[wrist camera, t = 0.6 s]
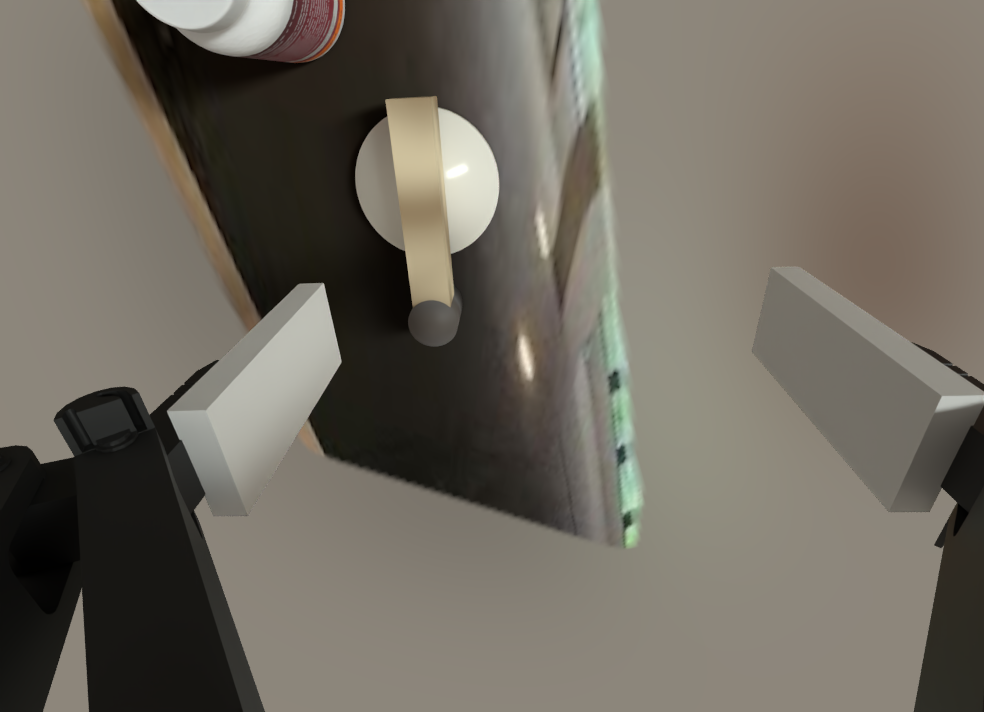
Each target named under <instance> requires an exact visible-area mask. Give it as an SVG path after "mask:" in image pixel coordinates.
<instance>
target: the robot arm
mask: <svg viewBox="0 0 984 712" xmlns="http://www.w3.org/2000/svg"><path fill="white" fill-rule="evenodd" d="M752 352H753V354H754V355H755V356H756V357H757V358H758V360H759V361H760V362H761V363H762V364H763V365H764V367H765V368H766V369H767V370H768V371H769V372H770V374H771V375H772V376H773V377H774V378H775V379H776V381H777V382H778V383H779V384H780V385H781V386H782V388H783V389H784V390H785V391H786V392H787V393H788V395H789V396H790V397H791V398H792V399H793V401H794V402H795V403H796V404H797V405H798V406H799V408H800V409H801V410H802V411H803V412H804V413H805V415H806V416H807V417H808V418H809V419H810V420H811V421H812V423H813V424H814V425H815V426H816V427H817V429H818V430H819V431H820V432H821V433H822V434H823V436H824V437H825V438H826V439H827V440H828V441H829V442H830V444H831V445H832V446H833V447H834V448H835V450H836V451H837V452H838V453H839V454H840V455H841V457H842V458H843V459H844V460H845V461H846V463H847V464H848V465H849V466H850V467H851V468H852V470H853V471H854V472H855V473H856V474H857V475H858V477H859V478H860V479H861V480H862V481H863V482H864V484H865V485H866V486H867V487H868V488H869V489H870V491H871V492H872V493H873V494H874V495H875V496H876V498H877V499H878V500H879V501H880V502H881V503H882V505H883V506H884V507H885V508H886V509H887V511H888V512H930V510H931V508H932V506H933V504H934V502H935V500H936V498H937V496H938V494H939V492H940V490H941V488H943V489H944V490H945V491H946V492H947V493H948V494H949V495H950V496H951V497H952V498H953V499H954V500H955V501H956V502H957V504H956V506H955V508H954V509H953V511H952V513H951V515H950V517H949V519H948V520H947V523H946V524H945V526H944V528H943V530H942V532H941V533H940V535H939V537H938V539H937V541H936V543H935V546H937V547H940V548H942V547H943V546H944V548H943V554H942V560H941V565H940V571H939V576H938V581H937V587H936V592H935V598H934V603H933V609H932V614H931V620H930V625H929V631H928V636H927V642H926V647H925V653H924V659H923V664H922V669H921V675H920V680H919V686H918V691H917V697H916V702H915V708H914V712H984V384H982V383H981V382H980V381H978V380H977V379H975V378H974V377H972V376H968V375H967V373H966V372H964V371H963V370H961V369H960V368H958V367H957V366H952V363H951V362H949V361H948V360H946V359H945V358H943V357H942V356H940V355H939V354H937V353H936V352H934V351H932V350H929V349H927V348H925V347H922V346H920V345H917V344H915V343H912V342H910V341H908V340H907V339H905V338H904V337H902V336H901V335H899V334H898V333H896V332H895V331H893V330H892V329H890V328H889V327H887V326H886V325H885V324H883V323H882V322H880V321H879V320H877V319H876V318H874V317H873V316H871V315H870V314H868V313H867V312H865V311H864V310H862V309H861V308H859V307H858V306H856V305H855V304H853V303H852V302H850V301H849V300H847V299H846V298H845V297H843V296H841V295H840V294H839V293H837V292H835V291H834V290H833V289H831V288H830V287H828V286H827V285H825V284H824V283H822V282H821V281H819V280H818V279H816V278H815V277H813V276H812V275H810V274H809V273H808V272H806V271H804V270H803V269H801V268H800V267H798V266H796V267H771V269H770V274H769V278H768V283H767V287H766V291H765V296H764V300H763V305H762V309H761V314H760V318H759V322H758V326H757V331H756V335H755V340H754V344H753V349H752ZM340 364H341V357H340V353H339V348H338V344H337V340H336V335H335V331H334V326H333V322H332V318H331V313H330V309H329V304H328V300H327V296H326V291H325V287H324V283H309V284H298V285H297V286H296V287H295V288H294V289H293V290H292V291H291V292H290V293H289V294H288V295H287V296H286V297H285V298H284V299H283V300H282V301H281V302H280V303H279V304H278V305H276V306H275V307H274V308H273V309H272V310H271V311H270V312H269V313H268V314H267V315H266V316H265V317H264V318H263V319H262V320H261V321H260V322H259V323H258V324H257V325H256V326H255V327H254V328H253V329H252V330H251V331H249V332H248V333H247V334H246V335H245V336H244V337H243V338H242V339H241V340H240V341H239V342H238V343H237V344H236V345H235V346H234V347H233V348H232V349H231V350H230V351H229V352H228V353H227V354H226V355H225V356H224V357H222V358H221V359H220V360H216V361H214V362H212V363H210V364H209V365H207V366H205V367H203V368H202V369H200V370H198V371H196V372H195V373H194V374H193V375H192V376H191V377H190V378H189V379H188V380H187V381H186V382H185V385H182V386H180V387H179V388H178V389H177V390H176V391H175V392H174V395H171V396H170V397H169V398H168V399H166V400H165V401H164V402H163V403H162V404H161V405H160V406H159V407H158V408H157V409H156V410H154V411H153V412H152V413H151V414H150V415H149V414H148V412H147V409H146V407H145V405H144V403H143V401H142V398H141V396H140V394H139V393H138V392H137V390H135V389H134V388H129V387H115V388H109V389H104V390H100V391H96V392H93V393H91V394H88V395H85V396H83V397H80V398H78V399H76V400H75V401H73V402H71V403H69V404H67V405H66V406H65V407H63V408H62V409H61V410H60V411H59V412H58V413H57V414H56V416H55V418H54V422H55V424H56V425H57V427H58V429H59V430H60V432H61V434H62V436H63V437H64V439H65V441H66V443H67V444H68V446H69V448H70V449H71V451H72V453H73V455H74V456H75V457H73V458H69V459H63V460H59V461H54V462H49V463H44V464H40V462H39V461H38V459H37V458H36V456H35V455H34V453H33V451H32V450H31V449H29V448H28V447H27V446H16V445H15V446H9V447H4V448H0V712H43V709H44V706H45V703H46V700H47V696H48V693H49V690H50V687H51V684H52V680H53V677H54V674H55V671H56V668H57V665H58V661H59V658H60V655H61V652H62V649H63V646H64V643H65V639H66V636H67V633H68V630H69V627H70V623H71V620H72V617H73V614H74V611H75V607H76V604H77V601H78V598H79V594H80V592H81V588H82V596H83V613H84V631H85V649H86V665H87V684H88V701H89V712H265V711H264V708H263V705H262V702H261V699H260V696H259V693H258V691H257V687H256V685H255V682H254V679H253V676H252V673H251V670H250V667H249V664H248V661H247V659H246V656H245V653H244V650H243V647H242V644H241V641H240V638H239V636H238V633H237V630H236V627H235V624H234V621H233V618H232V615H231V612H230V609H229V607H228V604H227V601H226V598H225V595H224V592H223V589H222V586H221V583H220V581H219V578H218V575H217V572H216V569H215V566H214V564H213V560H212V557H211V554H210V552H209V549H208V546H207V543H206V540H205V537H204V534H203V531H202V528H201V526H200V523H199V520H198V518H197V516H196V514H195V512H194V509H195V508H196V506H197V505H198V504H199V502H200V501H201V500H202V498H203V497H204V496H205V498H206V500H207V502H208V505H209V507H210V509H211V512H212V514H213V516H248V515H249V514H250V512H251V510H252V509H253V507H254V505H255V504H256V502H257V500H258V499H259V497H260V495H261V494H262V492H263V490H264V489H265V487H266V486H267V484H268V482H269V480H270V479H271V477H272V476H273V474H274V472H275V470H276V469H277V467H278V466H279V464H280V462H281V461H282V459H283V457H284V456H285V454H286V453H287V451H288V449H289V448H290V446H291V444H292V442H293V441H294V439H295V438H296V436H297V434H298V433H299V431H300V430H301V428H302V426H303V425H304V423H305V421H306V420H307V418H308V416H309V415H310V413H311V411H312V410H313V408H314V407H315V405H316V403H317V402H318V400H319V398H320V397H321V395H322V393H323V392H324V390H325V388H326V387H327V385H328V383H329V382H330V380H331V379H332V377H333V375H334V374H335V372H336V370H337V369H338V367H339V365H340Z"/></svg>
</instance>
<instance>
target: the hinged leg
mask: <svg viewBox="0 0 984 712" xmlns="http://www.w3.org/2000/svg"><path fill="white" fill-rule="evenodd" d="M385 101H386V108H387V116H388V123H389V131H390V138H391V146H392V154H393V161H394V169H395V176H396V184H397V191H398V199H399V207H400V214H401V222H402V229H403V237H404V244H405V252H406V260H407V267H408V275H409V282H410V290H411V298H412V305H413V308H412V310H411V313H410V315H409V318H408V326H409V330H410V332H411V334H412V335H413V337H414V338H415V339H416V340H418V341H419V342H420V343H422V344H425V345H428V346H442V345H444V344H446V343H448V342H450V341H451V340H452V339H453V338H454V336H455V334H456V332H457V328H458V324H459V319H460V315H461V311H462V307H463V298H462V295H461V292H460V291H459V289H458V288H457V287H456V286H455V285H453V274H452V263H451V251H450V240H449V229H448V217H447V206H446V195H445V183H444V172H443V161H442V149H441V138H440V127H439V115H438V104H437V96H428V97H408V98H393V99H386V100H385Z"/></svg>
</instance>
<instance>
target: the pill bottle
mask: <svg viewBox="0 0 984 712" xmlns="http://www.w3.org/2000/svg"><path fill="white" fill-rule="evenodd" d="M136 1H137V2H138V3H139V4H140V5H141V6H142V7H143V8H144V9H145V10H146V11H148V12H149V13H150V14H151V15H153V16H154V17H155V18H157V19H159V20H160V21H162V22H164V23H166V24H168V25H170V26H173V27H175V28H177V29H178V30H179V31H180V32H181V33H182V34H183V35H184V36H185V37H187V38H188V39H190V40H191V41H192V42H194V43H196V44H197V45H199V46H201V47H203V48H205V49H207V50H209V51H212V52H215V53H218V54H222V55H227V56H232V57H243V58H253V59H262V60H271V61H279V62H290V63H301V62H309V61H312V60H315V59H317V58H319V57H321V56H323V55H324V54H325V53H326V52H328V51H329V50H330V49H331V47H332V46H333V45H334V44H335V42H336V40H337V39H338V37H339V35H340V32H341V29H342V26H343V22H344V15H345V0H136Z"/></svg>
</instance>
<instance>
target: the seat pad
mask: <svg viewBox="0 0 984 712" xmlns="http://www.w3.org/2000/svg"><path fill="white" fill-rule="evenodd" d="M438 115H439V127H440V138H441V149H442V161H443V172H444V183H445V195H446V206H447V217H448V229H449V240H450V251H451V254H452V253H455V252H457V251H460V250H462V249H464V248H465V247H467V246H469V245H470V244H471V243H473V242H474V241H475V240H476V239H477V238H478V237H479V236H480V235H481V234H482V233H483V232H484V230H485V229H486V228H487V226H488V225H489V223H490V221H491V219H492V217H493V215H494V212H495V209H496V205H497V201H498V194H499V173H498V167H497V163H496V160H495V157H494V154H493V152H492V150H491V148H490V146H489V144H488V142H487V141H486V139H485V138H484V136H483V135H482V134H481V133H480V132H479V130H478V129H477V128H476V127H475V126H474V125H472V124H471V123H470V122H469V121H468V120H466V119H465V118H463V117H462V116H460V115H458V114H456V113H454V112H452V111H450V110H447V109H444V108H440V107H438ZM355 182H356V190H357V195H358V199H359V202H360V205H361V207H362V210H363V212H364V214H365V216H366V217H367V219H368V220H369V222H370V223H371V225H372V226H373V227H374V229H375V230H376V231H377V232H378V233H379V234H380V235H381V236H382V237H383V238H384V239H385V240H387V241H388V242H389V243H391V244H392V245H394V246H396V247H397V248H399V249H401V250H404V251H405V244H404V237H403V229H402V222H401V214H400V207H399V199H398V191H397V184H396V176H395V169H394V161H393V154H392V146H391V138H390V131H389V123H388V116H387V117H386V118H384V119H383V120H381V121H380V122H379V123H378V124H377V125H376V126H375V127H374V128H373V129H372V130H371V131H370V133H369V134H368V135H367V137H366V139H365V140H364V142H363V144H362V146H361V149H360V151H359V155H358V158H357V163H356V170H355Z"/></svg>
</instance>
